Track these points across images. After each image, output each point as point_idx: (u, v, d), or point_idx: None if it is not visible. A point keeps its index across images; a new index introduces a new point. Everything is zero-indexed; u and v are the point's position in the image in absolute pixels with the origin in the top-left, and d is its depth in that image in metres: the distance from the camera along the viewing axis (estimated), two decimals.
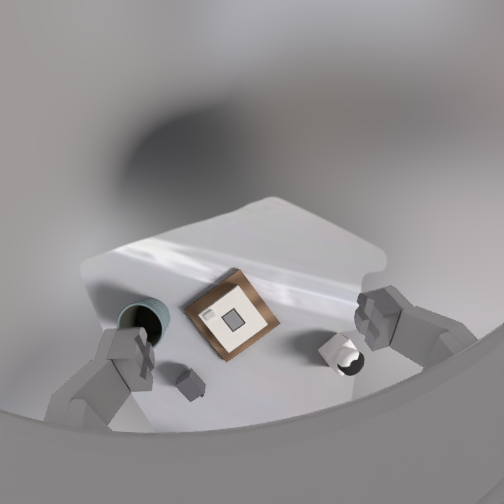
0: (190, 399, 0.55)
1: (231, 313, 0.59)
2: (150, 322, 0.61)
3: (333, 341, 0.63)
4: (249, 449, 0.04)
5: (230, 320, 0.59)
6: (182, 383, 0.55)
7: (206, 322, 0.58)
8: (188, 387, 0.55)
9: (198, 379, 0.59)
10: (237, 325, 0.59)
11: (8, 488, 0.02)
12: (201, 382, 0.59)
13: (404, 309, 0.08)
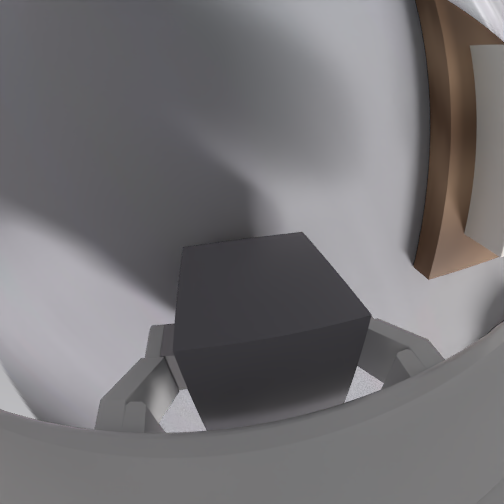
0: None
1: None
2: None
3: None
4: (248, 449, 0.04)
5: None
6: (262, 359, 0.06)
7: None
8: (285, 389, 0.06)
9: None
10: None
11: (8, 488, 0.02)
12: None
13: None
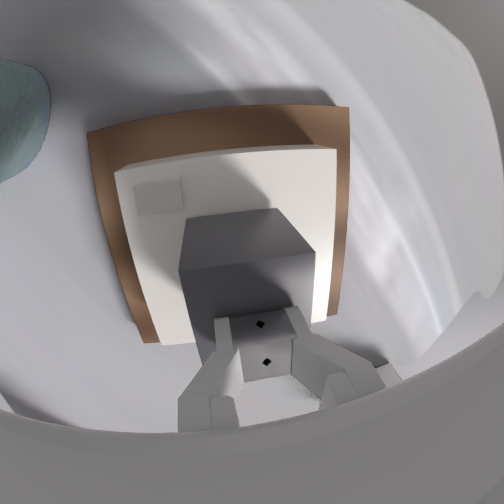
0: None
1: None
2: None
3: None
4: (248, 449, 0.04)
5: None
6: (239, 281, 0.09)
7: (130, 217, 0.12)
8: None
9: None
10: None
11: (8, 488, 0.02)
12: None
13: (298, 336, 0.08)
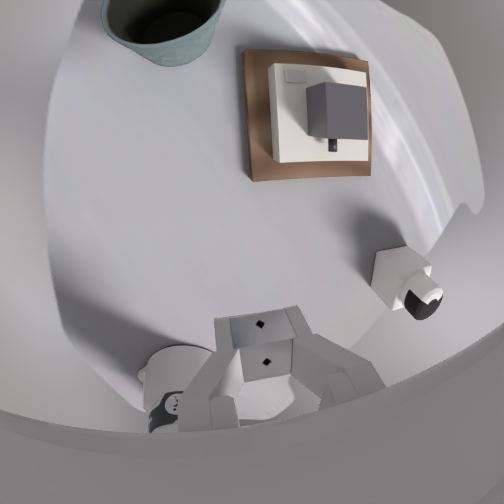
0: (332, 133, 0.22)
1: None
2: None
3: (405, 254, 0.38)
4: (248, 448, 0.04)
5: None
6: (343, 90, 0.20)
7: (279, 83, 0.24)
8: (349, 105, 0.21)
9: None
10: None
11: (8, 488, 0.02)
12: None
13: (298, 337, 0.08)
